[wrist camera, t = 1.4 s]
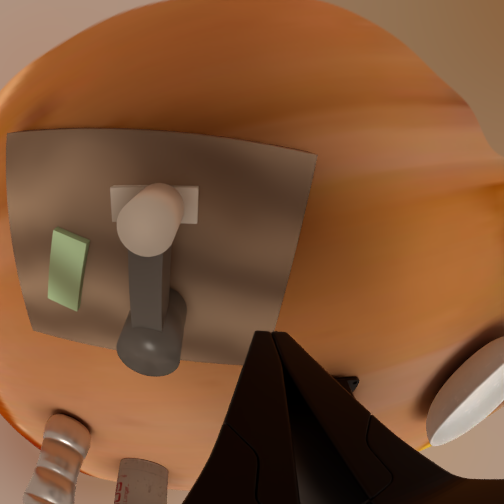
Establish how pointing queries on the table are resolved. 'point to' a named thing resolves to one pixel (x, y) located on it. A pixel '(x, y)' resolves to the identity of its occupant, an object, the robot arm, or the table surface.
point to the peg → (151, 282)
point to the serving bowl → (468, 395)
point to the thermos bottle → (141, 482)
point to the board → (183, 246)
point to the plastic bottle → (58, 462)
